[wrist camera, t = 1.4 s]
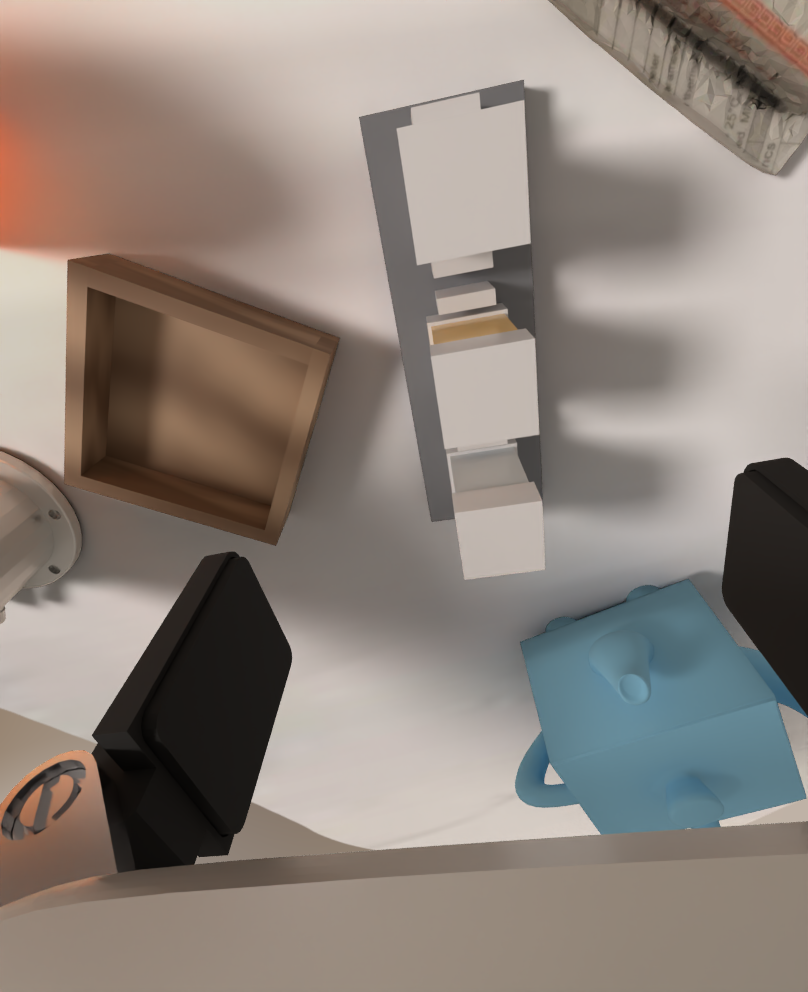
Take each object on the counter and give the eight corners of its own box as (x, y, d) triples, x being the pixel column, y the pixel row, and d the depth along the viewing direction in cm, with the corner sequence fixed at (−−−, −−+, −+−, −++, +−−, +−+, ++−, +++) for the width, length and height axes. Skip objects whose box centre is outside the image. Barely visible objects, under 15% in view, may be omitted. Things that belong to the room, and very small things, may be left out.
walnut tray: (288, 514, 38) (275, 545, 34) (98, 457, 36) (64, 483, 32) (339, 338, 31) (330, 354, 28) (108, 253, 29) (67, 259, 25)
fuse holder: (538, 495, 37) (553, 530, 33) (430, 510, 37) (432, 546, 34) (518, 86, 25) (537, 63, 21) (361, 121, 26) (352, 106, 22)
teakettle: (484, 687, 47) (509, 864, 35) (564, 531, 38) (639, 693, 25) (663, 721, 50) (750, 899, 37) (781, 581, 40) (950, 754, 28)
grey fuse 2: (515, 488, 35) (545, 569, 27) (453, 497, 35) (464, 580, 27) (511, 430, 32) (542, 500, 25) (444, 440, 33) (454, 513, 25)
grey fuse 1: (496, 233, 27) (530, 243, 19) (416, 248, 27) (417, 265, 19) (489, 133, 25) (524, 100, 17) (401, 153, 25) (396, 128, 17)
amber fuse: (507, 377, 31) (539, 434, 23) (436, 388, 31) (444, 449, 23) (501, 302, 28) (534, 338, 21) (426, 316, 29) (430, 356, 21)
